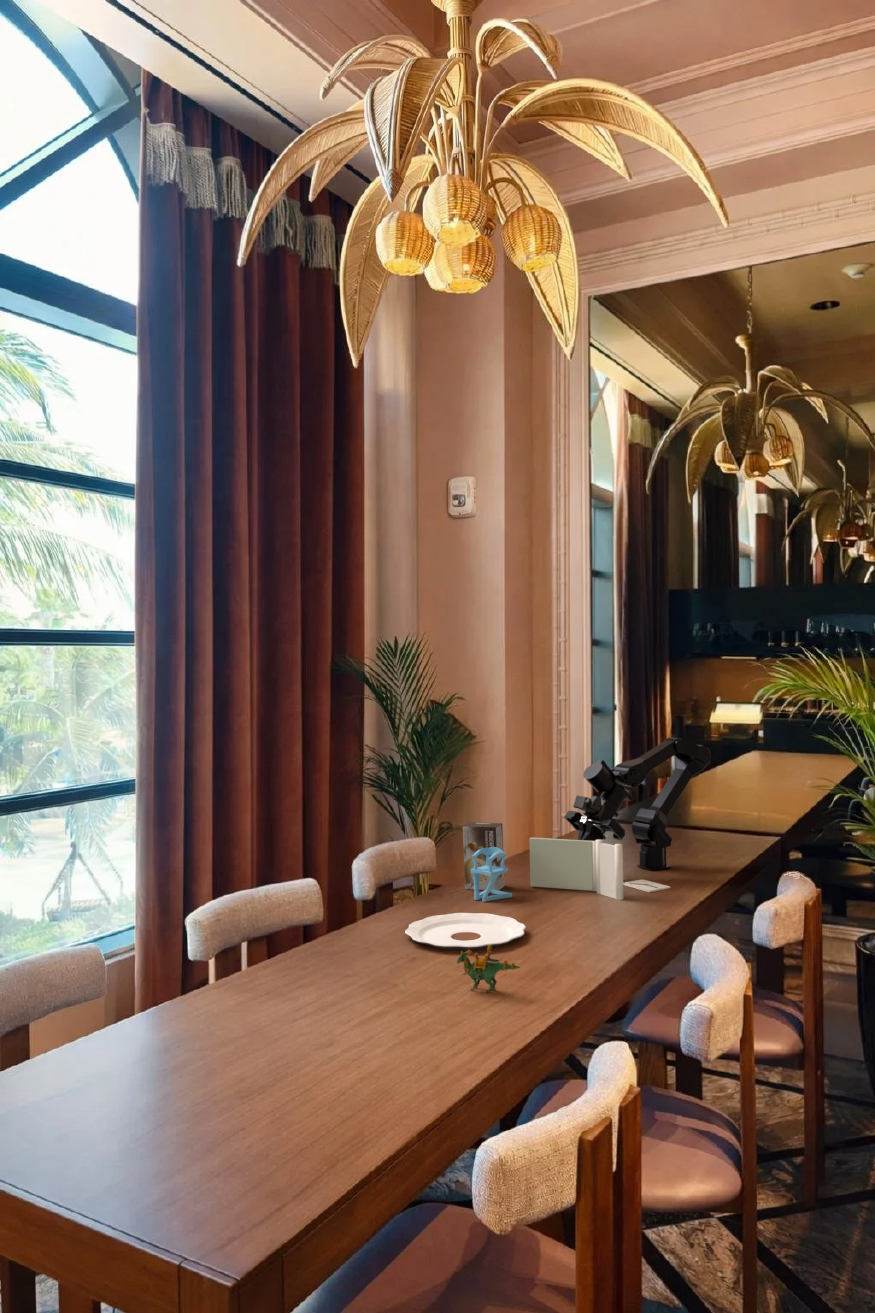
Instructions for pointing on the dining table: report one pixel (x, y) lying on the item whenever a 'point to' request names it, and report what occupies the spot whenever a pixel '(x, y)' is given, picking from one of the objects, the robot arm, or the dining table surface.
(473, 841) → the coffee box
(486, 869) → the chair
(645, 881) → the card
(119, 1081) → the dining table surface
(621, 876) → the fence fixed section
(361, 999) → the dining table surface
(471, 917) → the plate
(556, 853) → the panel
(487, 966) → the figurine
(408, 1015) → the dining table surface
